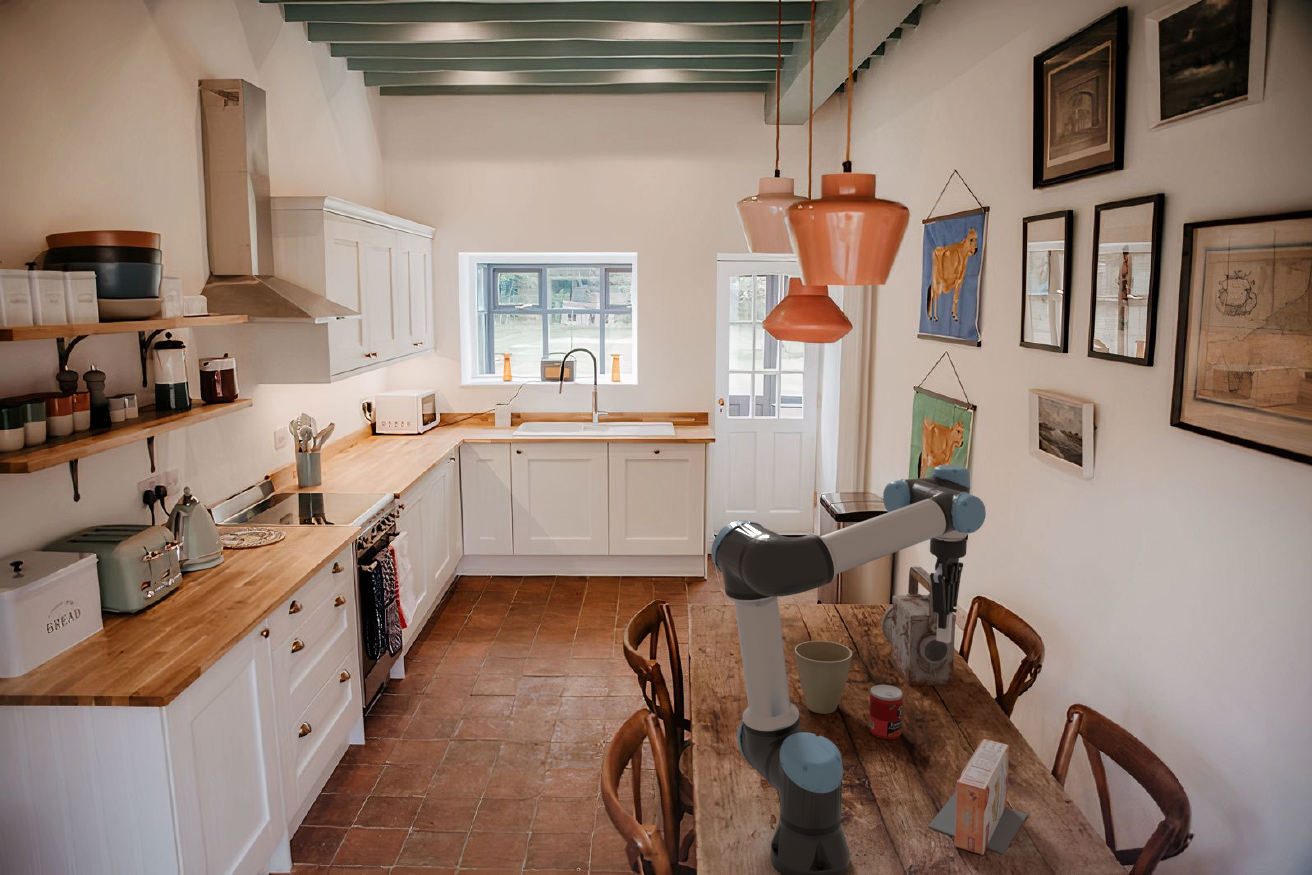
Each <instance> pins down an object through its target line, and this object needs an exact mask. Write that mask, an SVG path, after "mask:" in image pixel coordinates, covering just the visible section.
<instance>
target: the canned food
mask: <svg viewBox="0 0 1312 875" xmlns="http://www.w3.org/2000/svg"><path fill="white" fill-rule="evenodd" d="M869 693H870V695H869V730H870V734H872V735H873V736H874V735H875V737H876V736H877V737H876V738H879V739H882V740H883V739H884V740H895V739H898V738H900V736H901V734H902V729H903V728H902V726H903V724H902V723H903V705H904V704H903V701H904V699H903V697H904V696H903V691H902V690H901V689H900V688H898V687H896V686H893V685H888V684H877V685H873V686H871V688H870V692H869Z"/></svg>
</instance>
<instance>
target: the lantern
mask: <svg viewBox="0 0 1312 875" xmlns="http://www.w3.org/2000/svg"><path fill="white" fill-rule="evenodd" d="M908 572H909V573H908V587H907V588H908V590H907V591H908V592H907V593H905V594H906V595H905V594H903V595H902V594H901V595H893V596H892V605H890V606H889V607H888V608H887V609H886V611H885V612H884V614H883V615H882V616H883V617H882V620H881V622H880V627H881V630H882V634H883V636H884V637H885V639H886V640H887V641H888V642H889V643H890V644H891V646H890V647H891V649H890V663H892V665H893V667H894V668H895V669H896V671H897V672H898V673H899V675H900V677H902V679H903V680H904V681H905V683H906V684H907V686H908V687H935V686H937V687H938V686H939V687H940V686H953V684H954V682H953V681H954V663H955V662H954V660H955V659H954V658H955V636H956V622H957V615H956V614H955V613H954V612H951V613H952V629H951V642H950V643H944V642H940V641H936V636H937V615H938V613H936V612H933V598H932V582H931V579H930V573H928V572H927V570H925V569H924V568H923V567H922V566H910V568H909V571H908ZM919 584H920V585H921V586H922V587H923V588H925V590H926V591H928V594H921V593H919Z"/></svg>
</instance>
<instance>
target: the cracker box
mask: <svg viewBox="0 0 1312 875" xmlns="http://www.w3.org/2000/svg"><path fill="white" fill-rule="evenodd" d="M1010 746H1011V745H1010V744H1006V743H1003V742H998V741H995V740H990V739H987V738H982V740H981V741H980V742H979V744H978V745H977V748H976V749H975V751H974V752H973V754H972V756H971V757H970V759H969V760H968V762H967V764H966V766H965V767H964V769H963V770H962V772H961V773H960V776H959V777H958V779H957V780H956V790H955V792H956V817H955V837H954V845H953V846H955V847H957V848H960V849H963V850H967V851H970V852H971V853H972V852H973V853H976V854H979V855H984V854H985V852H986V850H987V848H986V847H987V845H988V843H989V841H990V839H991V837H992V835H993V833H994V831H995V829H996V826H997V824H998V822H999V820H1000V818H1001V816H1002V814H1003V812H1004V810H1005V808H1006V807H1007V804H1008V787H1009V786H1008V784H1009V783H1008V782H1009V765H1010Z"/></svg>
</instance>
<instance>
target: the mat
mask: <svg viewBox="0 0 1312 875" xmlns="http://www.w3.org/2000/svg"><path fill="white" fill-rule="evenodd" d="M955 817H956V791H954V793H953V794H952V796H951V797H950V798H949V799H948V800H947V802H945V804H944V805H943V807H942V808H941V809H940V811H939V812H938V813H937V814H936V816H935V817H934V818H933V820H932V821H931V822H930V824H929V825H928V828H929V829H932V830H934V831H937V832H940V833H943V834H946V835H948V836H951V837H954V838H955ZM1027 817H1028V813H1025V812H1022V811H1019V810H1016V809H1013V808H1010V807H1007V806H1006V808H1005V810H1004V812H1003V814H1002V816H1001V818H1000V820H999V822H998V824H997V826H996V829H995V831H994V833H993V835H992V837H991V839H990V841H989V843H988V845H987V847H986V850H989V851H993V852H996V853H998V854H1001V855H1005V853H1006V852H1007V850H1008V848H1009V846H1010V845H1011V843H1012V842H1013V840H1014V838H1015V837H1016V835H1017V833H1018V832H1019V831H1020V829H1021V827H1022V825H1023V823H1024V821H1025V820H1026V818H1027Z"/></svg>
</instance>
